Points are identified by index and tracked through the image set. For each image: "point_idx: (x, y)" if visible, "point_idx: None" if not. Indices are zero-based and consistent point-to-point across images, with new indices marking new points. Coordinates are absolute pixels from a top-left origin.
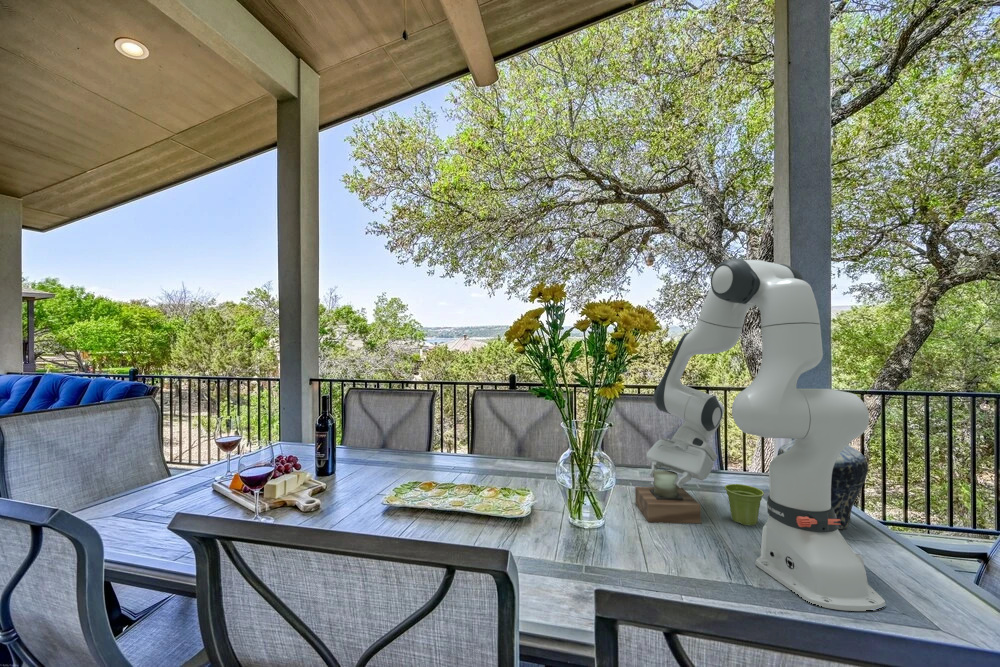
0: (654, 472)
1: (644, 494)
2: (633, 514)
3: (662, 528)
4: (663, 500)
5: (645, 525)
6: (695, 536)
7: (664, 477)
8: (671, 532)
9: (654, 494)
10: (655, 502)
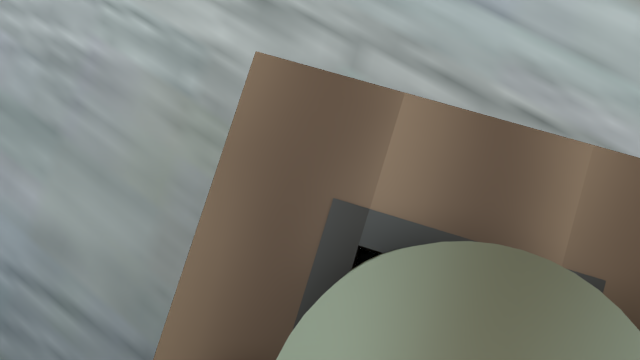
0: (554, 273)
1: (504, 158)
2: (443, 68)
3: (170, 138)
4: (299, 250)
5: (245, 51)
6: (2, 280)
7: (307, 311)
8: (100, 160)
9: (442, 237)
10: (271, 139)
